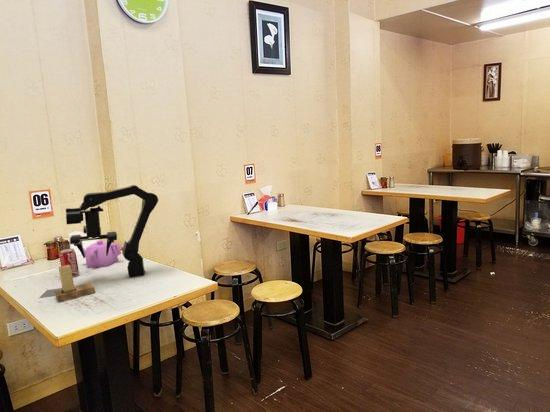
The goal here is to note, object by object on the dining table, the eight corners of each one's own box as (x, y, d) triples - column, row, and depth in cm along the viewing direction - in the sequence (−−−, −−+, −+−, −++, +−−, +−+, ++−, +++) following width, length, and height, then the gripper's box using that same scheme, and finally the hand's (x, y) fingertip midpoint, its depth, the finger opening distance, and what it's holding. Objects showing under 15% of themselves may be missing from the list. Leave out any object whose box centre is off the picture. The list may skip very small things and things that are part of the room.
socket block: (91, 288, 178) (90, 282, 177) (95, 293, 171) (94, 286, 171) (56, 297, 171) (54, 290, 170) (58, 303, 164) (57, 296, 163)
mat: (71, 287, 182) (71, 286, 182) (64, 295, 173) (64, 294, 173) (47, 290, 181) (46, 290, 181) (38, 299, 171) (38, 298, 171)
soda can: (73, 279, 195) (68, 252, 193) (59, 279, 196) (54, 252, 194) (82, 274, 202) (78, 248, 200) (69, 274, 203) (65, 248, 201)
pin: (74, 294, 172) (69, 264, 170) (76, 297, 169) (70, 266, 167) (63, 297, 170) (58, 266, 168) (65, 300, 167) (59, 269, 165)
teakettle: (93, 270, 206) (89, 246, 204) (80, 265, 218) (76, 242, 216) (126, 261, 218) (122, 238, 216) (111, 257, 230) (108, 235, 228)
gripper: (115, 217, 193) (118, 250, 195) (70, 220, 186) (73, 254, 188) (115, 221, 182) (118, 256, 185) (68, 225, 176) (71, 261, 178)
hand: (95, 256), depth 184 cm, fingers open, 9 cm apart
